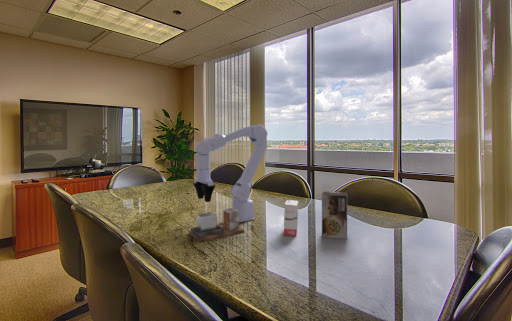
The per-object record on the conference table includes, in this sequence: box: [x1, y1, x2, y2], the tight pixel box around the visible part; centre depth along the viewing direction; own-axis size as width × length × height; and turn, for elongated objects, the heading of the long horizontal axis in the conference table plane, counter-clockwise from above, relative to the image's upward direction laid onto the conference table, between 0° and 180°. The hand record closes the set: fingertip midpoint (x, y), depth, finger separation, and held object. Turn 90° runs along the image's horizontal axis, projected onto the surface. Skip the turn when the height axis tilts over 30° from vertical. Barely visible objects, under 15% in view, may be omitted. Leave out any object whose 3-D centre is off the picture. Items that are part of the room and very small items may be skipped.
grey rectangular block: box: [196, 211, 218, 233], centre depth 103 cm, size 4×6×7 cm, turn 123°
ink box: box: [283, 199, 299, 237], centre depth 105 cm, size 9×5×12 cm, turn 168°
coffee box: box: [321, 191, 348, 240], centre depth 101 cm, size 9×6×16 cm
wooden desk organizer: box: [188, 207, 245, 243], centre depth 105 cm, size 19×11×8 cm, turn 123°
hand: (204, 200), depth 117 cm, fingers open, 7 cm apart
